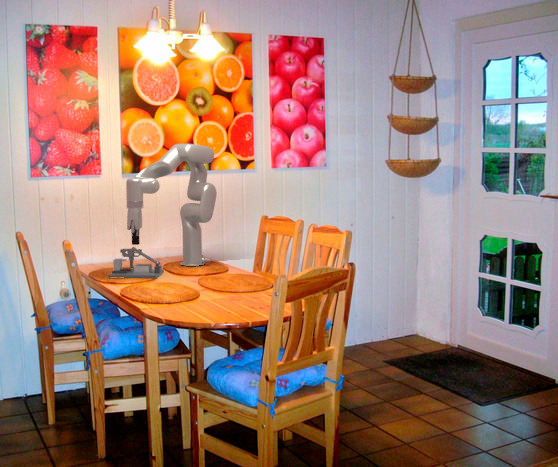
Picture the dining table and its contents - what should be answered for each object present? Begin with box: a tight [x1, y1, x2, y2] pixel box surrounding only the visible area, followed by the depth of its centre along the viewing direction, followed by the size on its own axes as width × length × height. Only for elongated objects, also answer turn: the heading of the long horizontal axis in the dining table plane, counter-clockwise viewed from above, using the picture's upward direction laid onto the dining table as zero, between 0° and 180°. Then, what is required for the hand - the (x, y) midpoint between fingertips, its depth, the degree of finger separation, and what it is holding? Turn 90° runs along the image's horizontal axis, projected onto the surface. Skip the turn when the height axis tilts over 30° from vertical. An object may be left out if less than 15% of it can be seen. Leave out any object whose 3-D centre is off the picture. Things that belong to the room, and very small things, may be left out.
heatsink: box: [133, 263, 153, 274], centre depth 322 cm, size 7×7×3 cm
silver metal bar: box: [130, 246, 161, 266], centre depth 321 cm, size 15×3×2 cm
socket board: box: [108, 264, 165, 280], centre depth 322 cm, size 22×16×4 cm
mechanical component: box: [119, 248, 143, 269], centre depth 339 cm, size 3×10×10 cm, turn 89°
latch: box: [112, 258, 128, 271], centre depth 322 cm, size 5×4×6 cm
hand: (135, 244), depth 321 cm, fingers closed
